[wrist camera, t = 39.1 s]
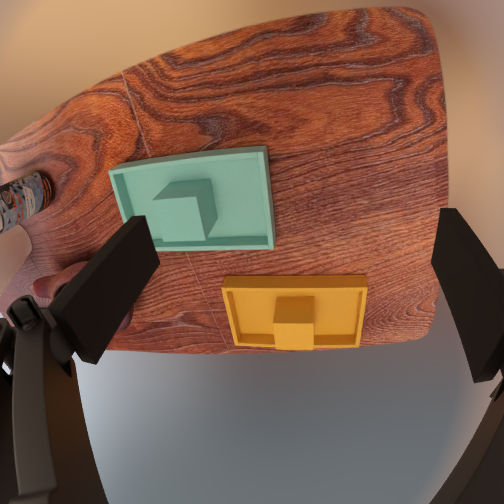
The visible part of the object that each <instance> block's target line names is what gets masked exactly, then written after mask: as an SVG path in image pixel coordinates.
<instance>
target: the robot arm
mask: <svg viewBox="0 0 504 504" xmlns="http://www.w3.org/2000/svg"><path fill="white" fill-rule="evenodd" d="M431 264H432V266H433V269H434V271H435V273H436V276H437V278H438V280H439V283H440V285H441V287H442V290H443V292H444V295H445V297H446V300H447V302H448V305H449V308H450V310H451V313H452V316H453V318H454V321H455V324H456V327H457V330H458V333H459V335H460V338H461V341H462V345H463V348H464V351H465V353H466V357H467V360H468V364H469V367H470V371H471V374H472V378H473V381H474V383H478V382H484V381H490V380H493V378H494V377H495V375H496V374H497V372H498V371H499V369H500V370H501V373H502V376H503V378H502V380H501V382H500V383H499V384H498V386H497V387H496V388H495V390H494V391H493V392H492V394H491V395H490V397H491V398H492V397H493V398H492V400H491V402H490V405H489V407H488V409H487V411H486V413H485V415H484V417H483V419H482V421H481V423H480V425H479V427H478V429H477V430H476V432H475V434H474V436H473V438H472V440H471V441H470V443H469V445H468V446H467V448H466V450H465V452H464V453H463V455H462V457H461V458H460V460H459V462H458V463H457V465H456V466H455V468H454V469H453V471H452V472H451V474H450V475H449V477H448V478H447V480H446V481H445V483H444V484H443V486H442V487H441V489H440V490H439V491H438V493H437V494H436V495H435V497H434V498H433V499H432V501H431V502H430V503H429V504H504V269H499V268H498V267H497V265H496V264H495V262H494V261H493V259H492V258H491V256H490V255H489V253H488V252H487V250H486V249H485V248H484V246H483V245H482V243H481V241H480V240H479V239H478V237H477V236H476V235H475V233H474V232H473V231H472V229H471V228H470V226H469V225H468V224H467V222H466V221H465V220H464V219H463V217H462V216H461V214H460V213H459V212H458V210H457V209H456V208H441V209H440V215H439V222H438V228H437V233H436V239H435V244H434V249H433V254H432V259H431ZM159 265H160V261H159V258H158V255H157V252H156V249H155V246H154V242H153V239H152V236H151V233H150V230H149V226H148V223H147V220H146V216H145V215H138V216H131V217H130V218H129V219H128V220H127V221H126V222H125V223H124V224H123V225H122V226H121V227H120V228H119V229H118V231H117V232H116V233H115V234H114V235H113V236H112V237H111V238H110V239H109V240H108V241H107V242H106V243H105V244H104V245H103V246H102V247H101V248H100V249H99V250H98V252H97V253H96V254H95V255H94V256H93V257H92V258H91V259H90V260H89V261H88V262H87V264H86V265H85V266H84V267H83V268H82V269H81V270H80V271H79V273H77V274H76V275H75V276H73V277H72V279H71V280H70V281H69V282H68V283H67V284H66V285H67V286H65V287H64V288H63V289H62V290H61V292H60V293H59V294H58V295H57V296H56V297H55V298H54V300H53V301H52V302H51V303H50V305H49V306H48V307H47V308H46V309H45V311H44V312H43V313H42V312H41V310H40V308H39V307H38V305H37V303H36V302H35V300H34V298H33V297H32V296H31V295H25V296H22V297H20V298H18V299H16V300H15V301H14V302H13V303H12V304H11V305H10V306H9V308H8V310H7V312H6V313H7V314H8V316H9V317H10V319H11V321H12V322H13V324H14V325H15V327H11V325H10V324H9V322H8V321H7V319H5V318H0V504H109V503H108V501H107V498H106V495H105V492H104V489H103V486H102V483H101V480H100V476H99V473H98V470H97V467H96V463H95V459H94V456H93V452H92V448H91V445H90V440H89V437H88V432H87V427H86V423H85V418H84V413H83V408H82V403H81V398H80V392H79V386H78V380H77V373H76V366H75V362H74V360H73V358H72V357H71V356H72V355H73V353H74V352H76V353H77V355H78V356H79V357H80V359H81V360H82V361H83V362H87V363H91V364H95V365H96V364H97V363H98V361H99V359H100V358H101V356H102V354H103V353H104V351H105V349H106V348H107V346H108V344H109V343H110V341H111V339H112V338H113V336H114V334H115V333H116V331H117V329H118V328H119V326H120V325H121V323H122V321H123V320H124V318H125V317H126V315H127V313H128V312H129V310H130V309H131V307H132V306H133V304H134V303H135V301H136V299H137V298H138V296H139V295H140V293H141V292H142V290H143V289H144V287H145V286H146V284H147V283H148V281H149V280H150V278H151V277H152V275H153V274H154V272H155V271H156V269H157V268H158V266H159ZM3 362H4V363H5V364H6V365H7V366H8V367H9V369H11V372H10V374H9V375H8V374H7V373H6V372H5V371H4V369H3V368H2V365H3Z"/></svg>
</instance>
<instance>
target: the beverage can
mask: <svg viewBox="0 0 504 504" xmlns="http://www.w3.org/2000/svg"><path fill="white" fill-rule="evenodd" d="M50 201H51V187H50V184H49V181H48V180H47V178H46V177H45V176H44V175H43V174H42V173H41V172H39V171H33V172H31V173H28V174H26V175H24V176H21V177H19V178H17V179H15V180H13V181H10V182H8V183H6V184H4V185H2V186H0V235H1V234H3V233H4V232H6V231H7V230H9V229H11V228H12V227H14V226H16V225H17V224H19V223H21V222H23V221H24V220H26V219H28V218H30V217H31V216H33V215H35V214H37V213H38V212H40V211H42V210H44V209H46V208H47V207H48V206H49V204H50Z"/></svg>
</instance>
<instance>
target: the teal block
mask: <svg viewBox="0 0 504 504" xmlns="http://www.w3.org/2000/svg"><path fill="white" fill-rule="evenodd" d="M152 203H153V207H154V211H155V214H156V218H157V222H158V225H159V229H160V232H161V235H162V239H163V242H171V241H205V240H206V239H207V237H208V235H209V234H210V232H211V230H212V228H213V226H214V224H215V223H216V221H217V219H218V217H217V212H216V206H215V201H214V196H213V190H212V185H211V180H210V179H200V180H190V181H180V182H170V183H169V184H168V185H167V186H166V187H165V188H164V189H163V190H162V191H161V192H160V193H159V194H158V195H157V196H156V197H155V198H154V199H153V200H152Z"/></svg>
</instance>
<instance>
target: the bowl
mask: <svg viewBox="0 0 504 504" xmlns="http://www.w3.org/2000/svg"><path fill="white" fill-rule="evenodd" d="M87 262H88V261H83V262H79V263H75V264H73V265H71V266H69V267H67V268H66V269H64V270H63V271H61V272H60V273H59V274H56V275H52V276H46V277H42V278H39V279H37V280H36V281H34V283H33V291H34V293H35V294H36V295H37V296H38V297H42V298H50V299H52V300H54V298H55V297H56V296H57V295H58V294H59V293H60V292H61V290H62V289H63V288H64V287H65V286H67V285H66V284H67V283H68V282H69V281H70V280H71V279H72V277H73V276H75V275H76V274H77V273H79V271H80V270H81V269H82V268H83V267H84V266H85V265H86V264H87ZM133 310H134V304H133V306H132V307H131V309H130V310H129V312H128V313H127V315H126V317H125V318H124V320H123V321H122V323H121V325H120V326H119V328H118V329H117V331H116V333H117V332H119V331H121V330H124V329H126V327H128V326H129V324H130V322H131V319H132V316H133Z"/></svg>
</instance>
